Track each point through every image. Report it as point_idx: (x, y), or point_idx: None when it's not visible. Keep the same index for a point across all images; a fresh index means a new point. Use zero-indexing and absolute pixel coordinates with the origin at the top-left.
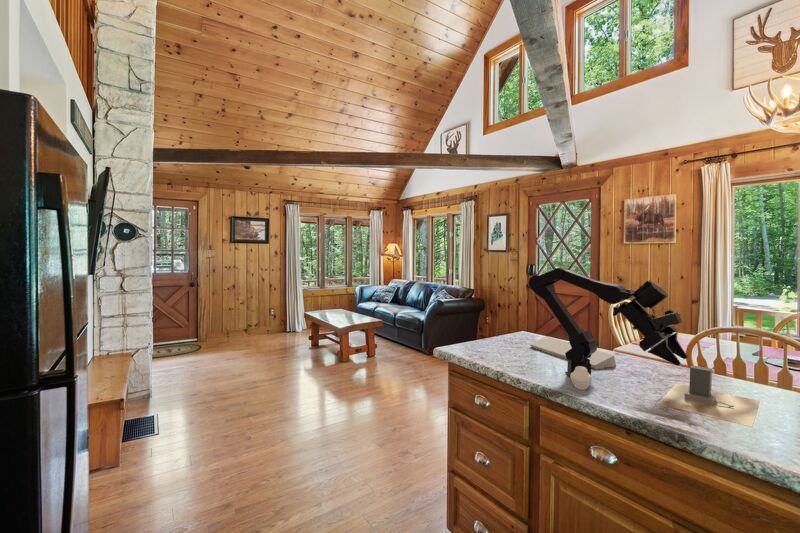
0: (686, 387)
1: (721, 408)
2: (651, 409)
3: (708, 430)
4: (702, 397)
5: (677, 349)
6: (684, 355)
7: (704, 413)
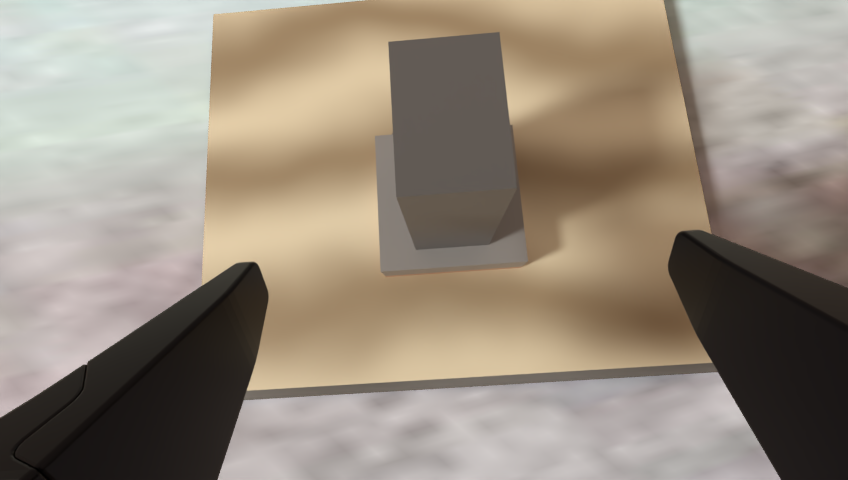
0: None
1: None
2: None
3: (789, 109)
4: (517, 169)
5: (191, 397)
6: (247, 292)
7: (665, 141)
